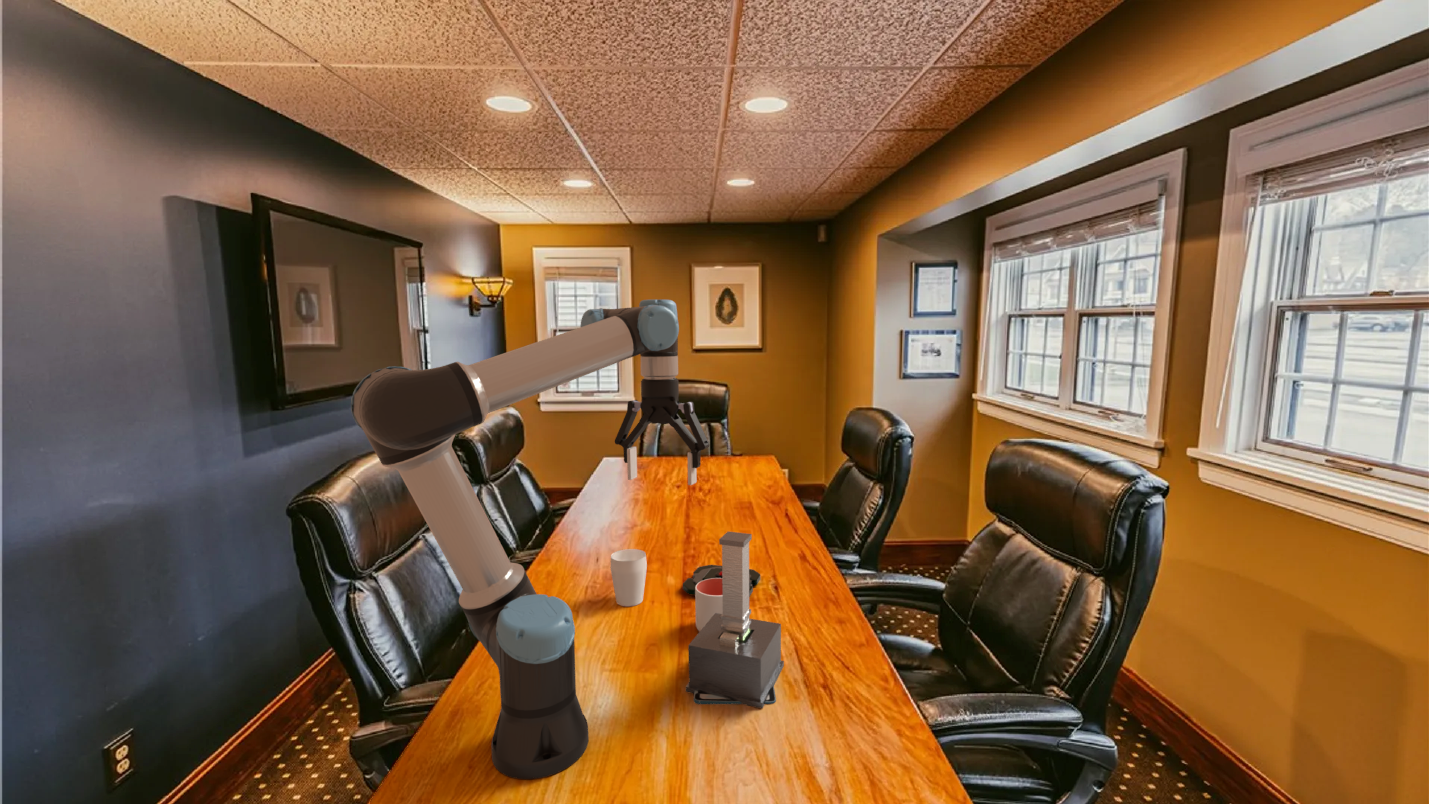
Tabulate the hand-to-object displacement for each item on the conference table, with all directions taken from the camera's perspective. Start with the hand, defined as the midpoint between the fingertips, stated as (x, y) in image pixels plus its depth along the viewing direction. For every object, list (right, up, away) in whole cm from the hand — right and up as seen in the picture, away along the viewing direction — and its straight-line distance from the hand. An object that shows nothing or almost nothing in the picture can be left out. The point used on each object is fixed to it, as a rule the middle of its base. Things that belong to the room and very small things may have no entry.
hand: (661, 481), depth 124 cm
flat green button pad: (+13, -33, +37) cm, 51 cm away
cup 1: (-11, -34, +28) cm, 46 cm away
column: (+15, -30, -7) cm, 34 cm away
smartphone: (+15, -39, -11) cm, 43 cm away
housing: (+15, -37, -6) cm, 41 cm away
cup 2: (+12, -36, +14) cm, 40 cm away
